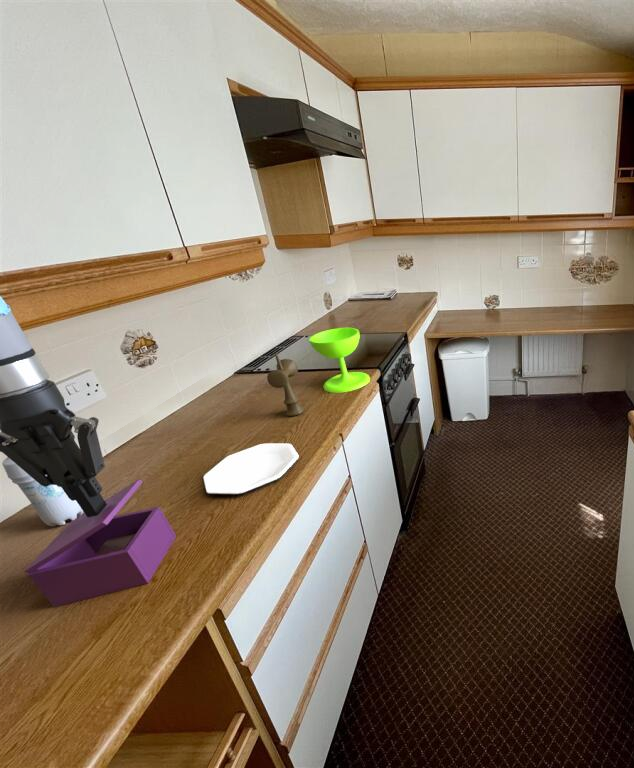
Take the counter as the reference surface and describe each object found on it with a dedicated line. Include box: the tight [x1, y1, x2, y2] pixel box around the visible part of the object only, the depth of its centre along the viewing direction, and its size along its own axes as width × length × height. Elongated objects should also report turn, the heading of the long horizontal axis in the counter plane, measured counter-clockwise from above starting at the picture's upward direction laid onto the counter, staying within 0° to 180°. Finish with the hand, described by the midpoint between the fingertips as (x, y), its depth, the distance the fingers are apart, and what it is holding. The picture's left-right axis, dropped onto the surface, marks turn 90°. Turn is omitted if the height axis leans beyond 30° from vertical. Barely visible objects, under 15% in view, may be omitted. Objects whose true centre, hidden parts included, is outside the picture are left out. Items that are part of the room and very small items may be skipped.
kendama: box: [266, 353, 305, 417], centre depth 122 cm, size 6×10×20 cm, turn 9°
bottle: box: [1, 456, 84, 527], centre depth 84 cm, size 7×7×20 cm
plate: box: [202, 442, 300, 496], centre depth 100 cm, size 20×20×2 cm
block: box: [94, 534, 135, 557], centre depth 74 cm, size 4×4×4 cm
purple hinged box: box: [27, 506, 177, 608], centre depth 73 cm, size 14×12×8 cm
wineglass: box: [308, 327, 371, 394], centre depth 141 cm, size 16×16×18 cm
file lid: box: [23, 479, 144, 575], centre depth 70 cm, size 14×12×1 cm
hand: (97, 510), depth 70 cm, fingers closed
